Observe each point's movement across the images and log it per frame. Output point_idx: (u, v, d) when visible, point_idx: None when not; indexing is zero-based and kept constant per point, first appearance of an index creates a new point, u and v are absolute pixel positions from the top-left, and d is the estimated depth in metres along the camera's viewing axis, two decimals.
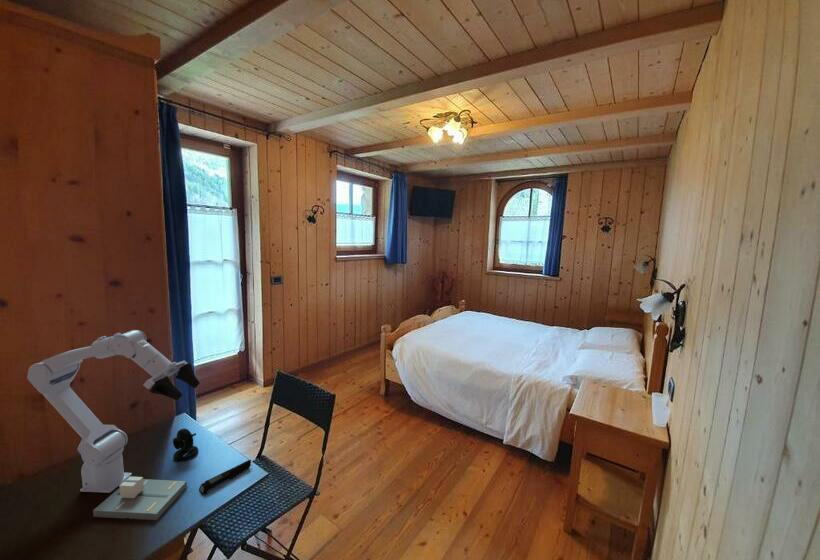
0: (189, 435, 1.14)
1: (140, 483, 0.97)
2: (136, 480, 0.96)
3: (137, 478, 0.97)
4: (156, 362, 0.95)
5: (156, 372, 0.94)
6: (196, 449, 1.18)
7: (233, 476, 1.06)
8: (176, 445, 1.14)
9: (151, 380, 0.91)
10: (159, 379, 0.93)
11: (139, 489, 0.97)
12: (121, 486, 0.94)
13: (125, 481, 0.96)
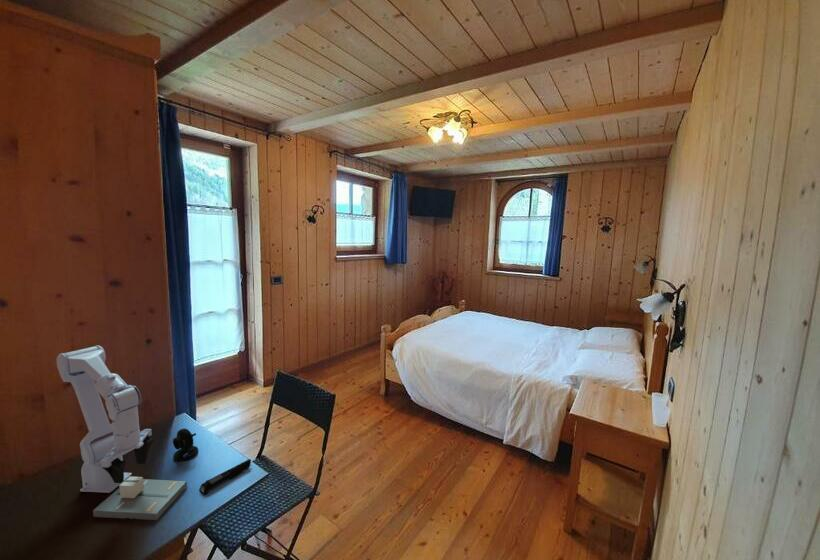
0: (189, 435, 1.14)
1: (140, 483, 0.97)
2: (136, 480, 0.96)
3: (137, 478, 0.97)
4: (128, 438, 0.92)
5: (120, 447, 0.91)
6: (196, 449, 1.18)
7: (233, 475, 1.06)
8: (176, 445, 1.14)
9: (110, 461, 0.88)
10: (117, 458, 0.90)
11: (139, 489, 0.97)
12: (121, 486, 0.94)
13: (125, 481, 0.96)
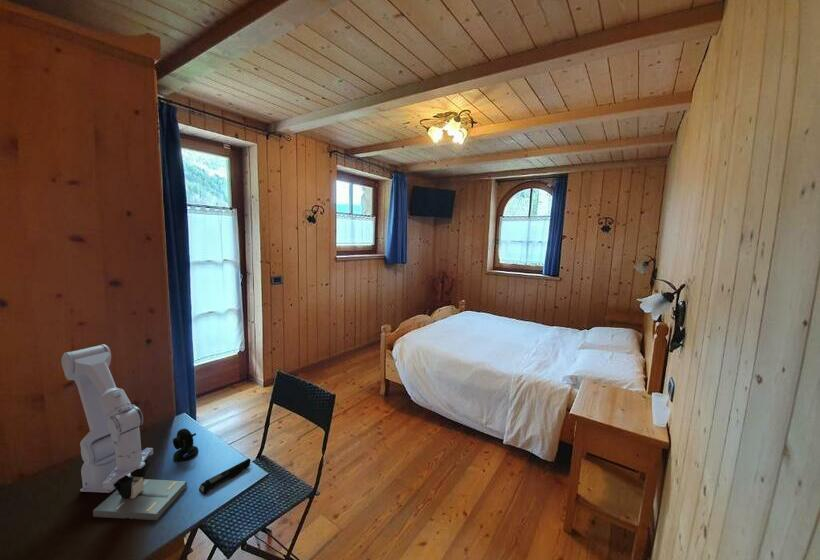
0: (189, 435, 1.14)
1: (140, 483, 0.97)
2: (136, 480, 0.96)
3: (137, 478, 0.97)
4: (130, 459, 0.93)
5: (122, 468, 0.92)
6: (196, 449, 1.18)
7: (233, 475, 1.07)
8: (176, 445, 1.14)
9: (112, 483, 0.89)
10: (119, 480, 0.91)
11: (139, 489, 0.97)
12: None
13: None
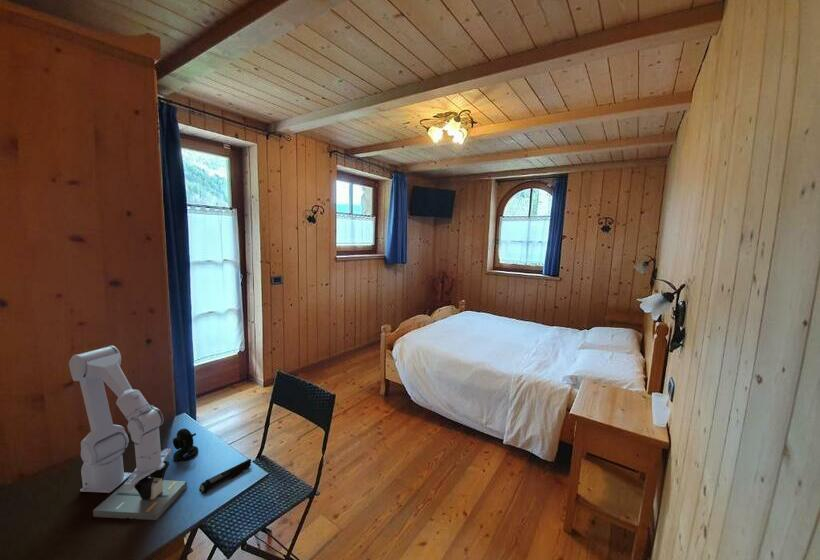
0: (189, 435, 1.14)
1: (159, 484, 0.97)
2: (155, 481, 0.96)
3: (156, 479, 0.97)
4: (150, 460, 0.93)
5: (143, 469, 0.92)
6: (196, 449, 1.18)
7: (233, 475, 1.07)
8: (176, 445, 1.14)
9: (134, 484, 0.89)
10: (140, 481, 0.91)
11: (159, 490, 0.97)
12: None
13: None
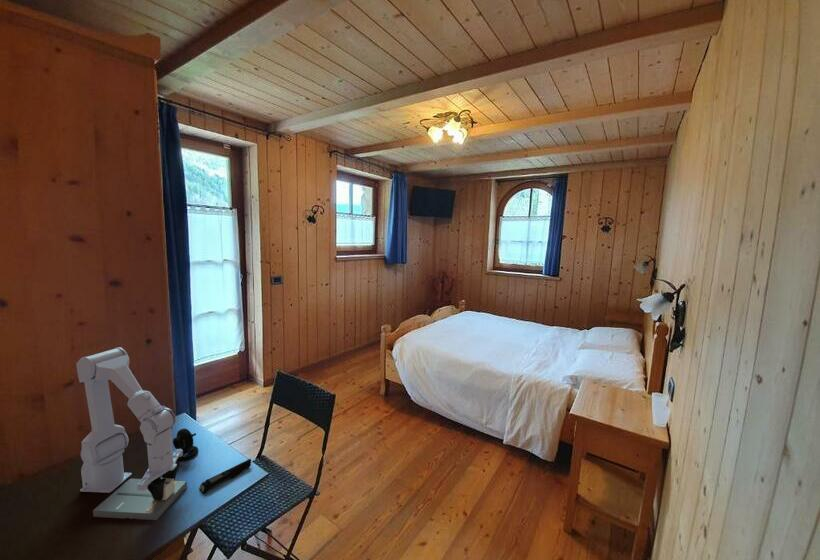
0: (189, 435, 1.14)
1: (171, 485, 0.97)
2: (167, 482, 0.96)
3: (168, 480, 0.97)
4: (163, 460, 0.93)
5: (155, 469, 0.92)
6: (196, 449, 1.18)
7: (233, 475, 1.07)
8: (176, 445, 1.14)
9: (147, 484, 0.89)
10: (152, 481, 0.91)
11: (171, 491, 0.96)
12: None
13: None
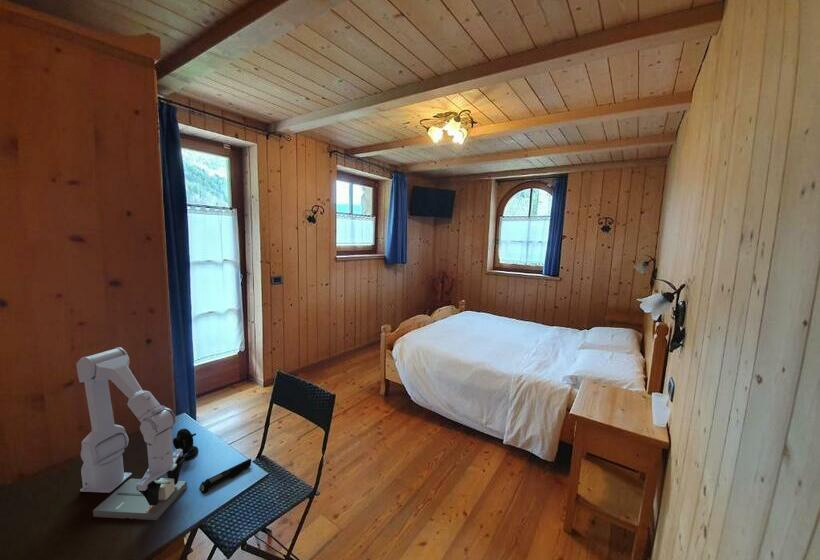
0: (189, 435, 1.14)
1: (171, 485, 0.97)
2: (167, 482, 0.96)
3: (168, 480, 0.97)
4: (163, 460, 0.93)
5: (155, 469, 0.92)
6: (196, 449, 1.18)
7: (233, 475, 1.07)
8: (176, 445, 1.14)
9: (147, 484, 0.89)
10: (152, 481, 0.91)
11: (171, 491, 0.96)
12: None
13: None
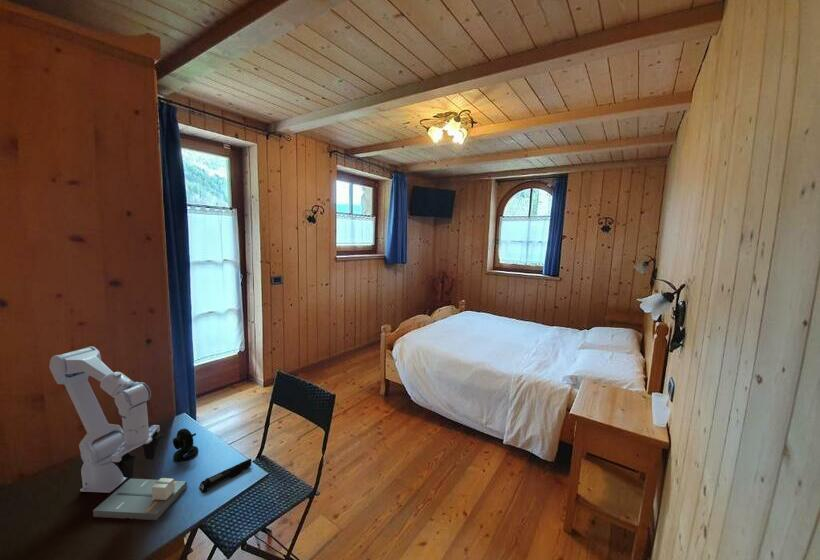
0: (189, 435, 1.14)
1: (171, 485, 0.97)
2: (167, 482, 0.96)
3: (168, 480, 0.97)
4: (138, 434, 0.94)
5: (130, 442, 0.93)
6: (196, 449, 1.18)
7: (233, 474, 1.07)
8: (176, 445, 1.14)
9: (121, 456, 0.90)
10: (127, 453, 0.92)
11: (171, 491, 0.96)
12: (153, 488, 0.94)
13: (157, 483, 0.95)
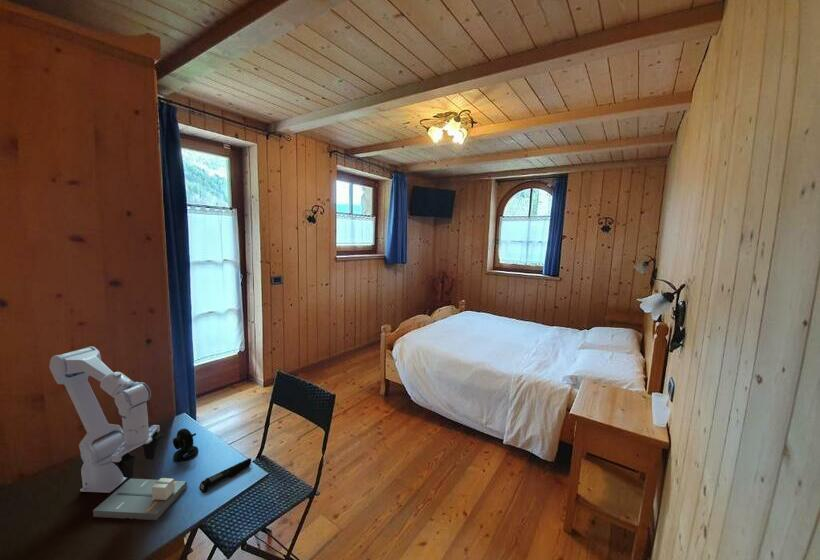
0: (189, 435, 1.14)
1: (171, 485, 0.97)
2: (167, 482, 0.96)
3: (168, 480, 0.97)
4: (138, 434, 0.94)
5: (130, 442, 0.93)
6: (196, 449, 1.18)
7: (233, 474, 1.07)
8: (176, 445, 1.14)
9: (121, 456, 0.90)
10: (127, 453, 0.92)
11: (171, 491, 0.96)
12: (153, 488, 0.94)
13: (157, 483, 0.95)
